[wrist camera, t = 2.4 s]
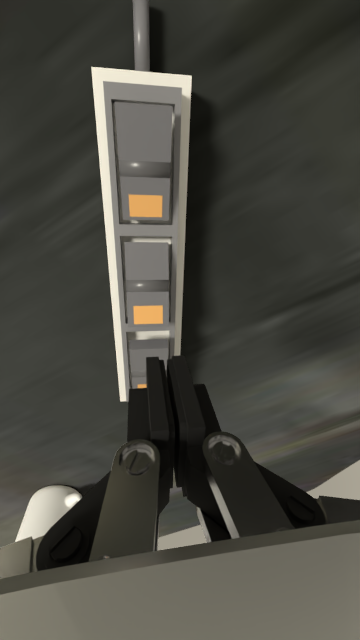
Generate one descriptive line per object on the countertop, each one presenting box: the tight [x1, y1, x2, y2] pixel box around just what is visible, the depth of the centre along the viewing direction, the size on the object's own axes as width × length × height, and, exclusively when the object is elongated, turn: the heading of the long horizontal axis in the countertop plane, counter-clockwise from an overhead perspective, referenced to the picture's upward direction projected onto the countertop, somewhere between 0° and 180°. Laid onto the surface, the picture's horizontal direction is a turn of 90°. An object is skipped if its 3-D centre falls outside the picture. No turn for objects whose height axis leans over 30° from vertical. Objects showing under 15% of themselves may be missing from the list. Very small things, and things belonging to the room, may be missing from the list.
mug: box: [15, 485, 82, 542], centre depth 42 cm, size 9×12×11 cm
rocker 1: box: [114, 102, 173, 221], centre depth 22 cm, size 4×8×2 cm, turn 178°
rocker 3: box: [129, 339, 169, 389], centre depth 31 cm, size 4×8×2 cm, turn 178°
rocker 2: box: [124, 242, 169, 327], centre depth 26 cm, size 4×8×2 cm, turn 178°
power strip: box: [91, 0, 192, 402], centre depth 28 cm, size 8×38×4 cm, turn 178°
